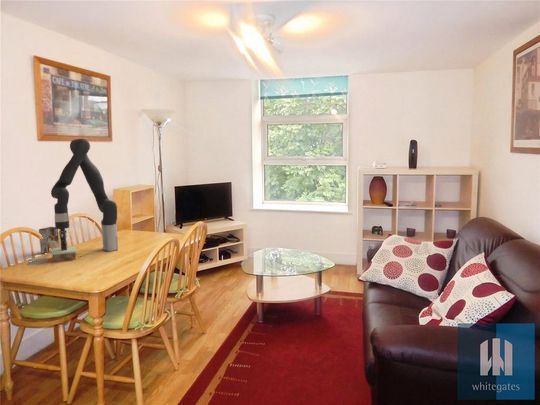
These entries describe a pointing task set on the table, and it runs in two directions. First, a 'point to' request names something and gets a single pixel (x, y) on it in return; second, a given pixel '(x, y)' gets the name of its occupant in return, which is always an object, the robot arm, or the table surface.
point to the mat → (37, 261)
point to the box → (64, 257)
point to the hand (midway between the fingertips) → (64, 248)
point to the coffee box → (49, 239)
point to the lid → (63, 250)
